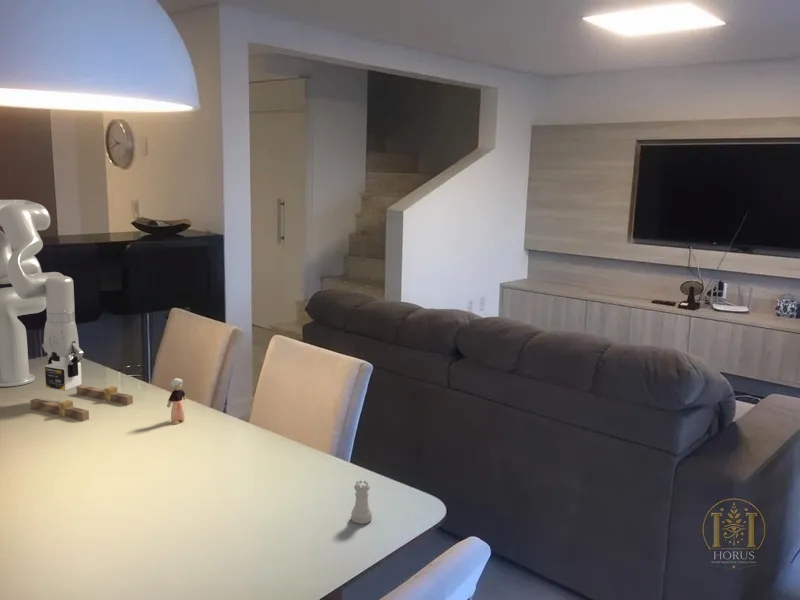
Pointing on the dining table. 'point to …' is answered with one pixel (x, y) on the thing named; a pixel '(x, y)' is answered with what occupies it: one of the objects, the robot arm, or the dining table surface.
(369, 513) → the rook chess piece
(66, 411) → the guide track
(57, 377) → the medicine bottle
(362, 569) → the dining table surface
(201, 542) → the dining table surface
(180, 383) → the grandmother figurine
